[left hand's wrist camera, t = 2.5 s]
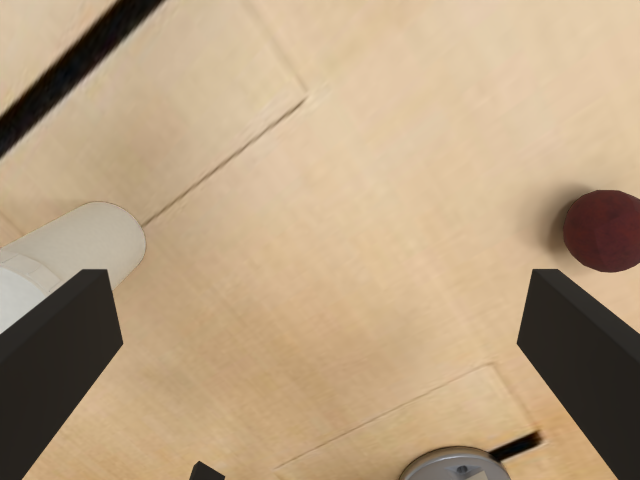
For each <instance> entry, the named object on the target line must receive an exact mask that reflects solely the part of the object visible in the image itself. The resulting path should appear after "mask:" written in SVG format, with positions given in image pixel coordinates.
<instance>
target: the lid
mask: <svg viewBox="0 0 640 480" xmlns="http://www.w3.org/2000/svg"><path fill="white" fill-rule="evenodd" d="M63 284H64V283H63V282H62V281H61V280H60V279H59V278H58V277H57V276H56V275H55V274H54V273H53V272H52V271H51V270H49V269H48V268H46V267H45V266H44V265H42V264H40V263H39V262H37V261H35V260H33V259H31V258H28V257H26V256H23V255H20V254H18V253H12V252H7V251H0V334H1V333H2V332H4V331H5V330H6V329H7V328H9V327H10V326H11V325H12V324H14V323H15V322H16V321H18V320H19V319H20V318H21V317H23V316H24V315H25V314H26V313H28V312H29V311H30V310H31V309H33V308H34V307H35V306H36V305H38V304H39V303H40V302H42V301H43V300H44V299H45V298H47V297H48V296H49V295H50V294H52V293H53V292H54V291H55V290H57V289H58V288H59V287H60V286H62V285H63Z"/></svg>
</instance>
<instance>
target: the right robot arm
mask: <svg viewBox="0 0 640 480" xmlns="http://www.w3.org/2000/svg"><path fill="white" fill-rule="evenodd" d="M224 479H225V476H224V475H222V474H220V473H219V472H217V471H215V470H214V469H212V468H210V467H209V466H207V465H205V464H204V463H202V462H200V461H198V462H197V463H196V464H195V465H194V467H193V470H192V473H191V476H190V479H189V480H224ZM399 480H511V479H510V477H509V475H508V473H507V470H506V469H505V467H504V465H503V464H502V463H501V462H500V461H499V460H498V459H497V458H496V457H494V456H493V455H491V454H489V453H487V452H485V451H482V450H479V449H474V448H468V447H451V448H444V449H440V450H436V451H433V452H430V453H428V454H426V455H423V456H422V457H420V458H418V459H417V460H415V461H414V462H413V463H411V464H410V465H409V466H408V467H407V468H406V469H405V471H404V472H403V473H402V475H401V477H400V479H399Z"/></svg>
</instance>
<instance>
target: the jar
mask: <svg viewBox="0 0 640 480" xmlns="http://www.w3.org/2000/svg"><path fill="white" fill-rule="evenodd" d="M145 249H146V241H145V236H144V233H143V230H142V228H141V226H140V225H139V223H138V222H137V220H136V219H135V218H134V217H133V216H132V215H131V214H130V213H128V212H127V211H126V210H124V209H123V208H121V207H119V206H116V205H114V204H110V203H106V202H91V203H87V204H84V205H82V206H80V207H78V208H76V209H74V210H72V211H70V212H69V213H67V214H65V215H63V216H61V217H59V218H57V219H55V220H53V221H51V222H49V223H48V224H46V225H44V226H42V227H40V228H38V229H36V230H34V231H32V232H30V233H29V234H27V235H25V236H23V237H21V238H19V239H17V240H15V241H13V242H11V243H9V244H8V245H6V246H4V247H2V248H0V251H7V252H12V253H18V254H20V255H23V256H26V257H28V258H31V259H33V260H35V261H37V262H39V263H40V264H42V265H44V266H45V267H46V268H48V269H49V270H51V271H52V272H53V273H54V274H55V275H56V276H57V277H58V278H59V279H60V280H61V281H62V282H63V283H65V282H67V281H68V280H69V279H71V278H72V277H73V276H74V275H76V274H77V273H78V272H79V271H81V270H82V269H107V270H108V275H109V279H110V284H111V289H112V291H113V290H114V289H115V288H116V287H117V286H118V285H119V284H120V283H121V282H122V281H123V280H124V279H125V278H126V277H127V276H128V275H129V274H130V273H131V272H132V271H133V270H134V268H135V267H136V266H137V265H138V264H139V263H140V262H141V260H142V259H143V257H144V254H145Z"/></svg>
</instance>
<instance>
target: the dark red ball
mask: <svg viewBox="0 0 640 480" xmlns="http://www.w3.org/2000/svg"><path fill="white" fill-rule="evenodd" d="M563 234H564V242H565V244H566V246H567V248H568V250H569V251H570V253H571V254H572V255H573V256H574V257H575V258H576V259H577V260H578V261H579V262H580V263H582V264H583V265H584V266H587V267H589V268H592V269H595V270H597V271H600V272H610V273H611V272H619V271H624V270H627V269H629V268H631V267H634V266H636V265H637V264H638V263H640V199H638V198H636V197H634V196H631V195H629V194H626V193H624V192H621V191H617V190H597V191H594V192H591V193H588V194H585V195H583V196H582V197H580V198H579V199H578V200H577V201H575V202H574V203H573V205H572V206H571V208H570V209H569V211H568V213H567V216H566V220H565V223H564V227H563Z"/></svg>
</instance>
